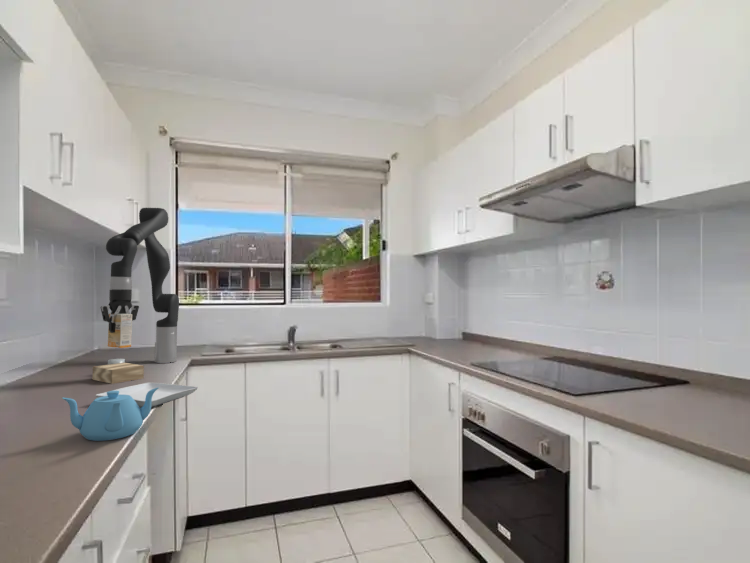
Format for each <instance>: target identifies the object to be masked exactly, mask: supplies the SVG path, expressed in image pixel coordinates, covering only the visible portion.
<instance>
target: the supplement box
mask: <svg viewBox="0 0 750 563" xmlns="http://www.w3.org/2000/svg"><path fill="white" fill-rule="evenodd" d="M109 317H110V313H109ZM114 323H115V332H114V333H111V332H110V331H109V324H108V326H107V328H108V330H107V332H108V333H107V347H110V348H119V349H127V348H131V347H132V335H133V334H132V333H133V332H132V331H133V321H132V314H131V313H130V314H117V317H116V319H115V322H114Z"/></svg>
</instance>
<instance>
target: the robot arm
mask: <svg viewBox="0 0 750 563" xmlns="http://www.w3.org/2000/svg"><path fill="white" fill-rule="evenodd" d="M138 219H139V220H138V221H139V223H136V224H134V225H132V226H130V227H129V228H127V229H126V230H125V231H124V232H121V233H118V234H117V235H114V236H112V237H110V238H109V239H108V240H107V242H106V244H105V250H106V253H108V254H109V255H111V256H113V257H114V256H115V257H120V256H121V257H122V258H121V260H119V261H115V262H112V263H111V264H110V280H109V296H108V297H109V303H108V305H101V306H100V308H99V309H100V311H101V315H102V321H103V322H107V323H108V325H109V331H110V332H111V333H114V332H115V323H114V322H115V319H116V317H117V314H132V322H133V321H136V320H137V317H138V312H139V309H140V306H139V305H137V304H136V305H134V304H132V295H133V294H132V292H133V289H132V288H133V282H132V281H133V280H132V267H133V263H134V261H135V258H136V255H137V251H138V246H139V245H140V244H141V243H142V242H143V241H144V245H145V251H146V258H147V265H148V266H147V268H148V271H149V277H150V284H151V296H152V306H153V309H154V311H155V312H156V313H162V314H163V313H165V314H166V313H167V316H166V317H164V318H162V319H158V320H157V321H156V323H155V327H156V328H155V329H156V330H155V342H154V363H157V364H169V363H170V362H171V363H175V361H176V362H177V353H178V352H177V351H178V348H177V347H178V345H177V344H178V321H179V312H180V308H179V307H180V299H179V296H178V295H177V294H176V293H163V283H164V281H165V280H166V277H167V276H168V274H169V272H170V271H171V270H170V269H171V263H170V262H171V261H170V256H169V253H168V251H167V249H165V247H164V246H163V245H162V243H161V242H160V241H159V240H158V239H157V237H156V235H155V233H157V232H158V231H160V230H162V229H163V228H165V227H166V226H168V223H169V214H168V212H167V210H166V209H164V208H161V207H142V208H140V210H139V212H138ZM109 310H110V313H109ZM130 310H131V312H130ZM109 314H110V317H109Z"/></svg>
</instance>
